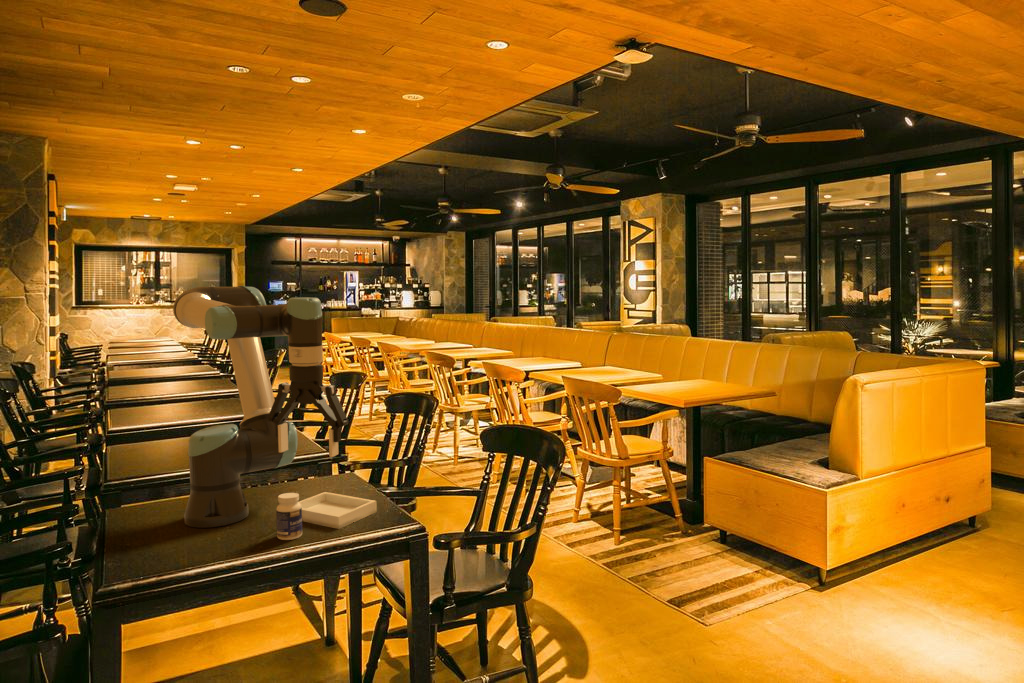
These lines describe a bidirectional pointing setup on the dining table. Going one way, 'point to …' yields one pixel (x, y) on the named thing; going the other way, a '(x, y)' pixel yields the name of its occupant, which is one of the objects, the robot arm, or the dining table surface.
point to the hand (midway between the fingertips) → (308, 453)
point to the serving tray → (336, 509)
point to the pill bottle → (289, 516)
